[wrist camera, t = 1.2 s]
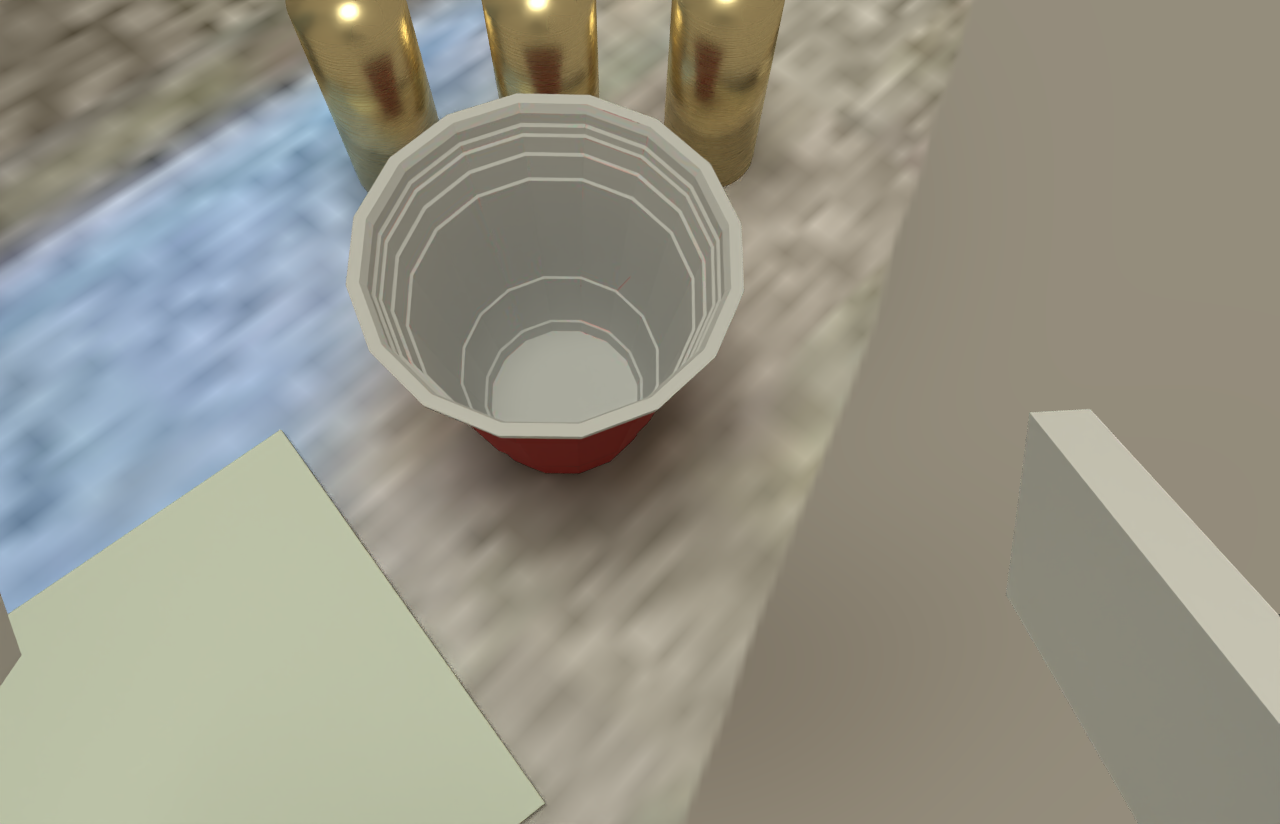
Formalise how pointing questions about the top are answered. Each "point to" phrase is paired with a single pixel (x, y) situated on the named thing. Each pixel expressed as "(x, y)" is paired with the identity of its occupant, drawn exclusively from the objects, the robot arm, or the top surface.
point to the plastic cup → (546, 273)
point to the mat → (242, 678)
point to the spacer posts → (539, 69)
